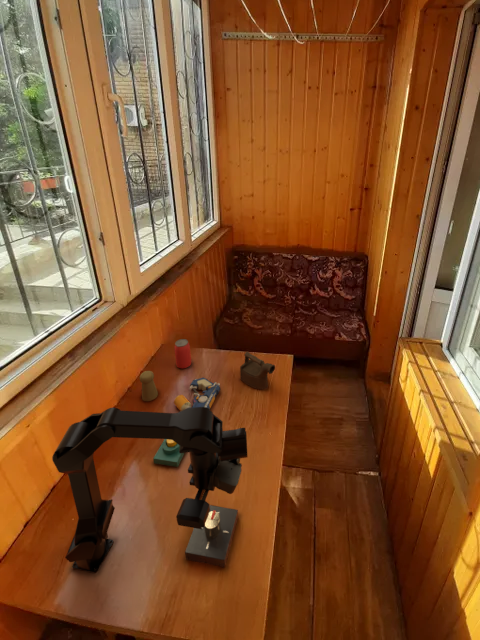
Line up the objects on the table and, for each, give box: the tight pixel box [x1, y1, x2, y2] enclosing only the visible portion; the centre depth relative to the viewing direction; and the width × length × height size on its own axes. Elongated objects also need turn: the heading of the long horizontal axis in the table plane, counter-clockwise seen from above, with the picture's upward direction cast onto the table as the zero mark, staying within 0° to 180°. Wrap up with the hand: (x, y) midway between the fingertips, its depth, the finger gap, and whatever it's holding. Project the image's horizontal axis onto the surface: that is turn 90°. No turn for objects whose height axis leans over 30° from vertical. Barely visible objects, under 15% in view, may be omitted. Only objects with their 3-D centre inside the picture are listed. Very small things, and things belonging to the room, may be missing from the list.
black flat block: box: [184, 504, 239, 568], centre depth 80 cm, size 11×10×3 cm
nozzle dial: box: [204, 510, 221, 539], centre depth 79 cm, size 4×4×4 cm
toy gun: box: [173, 376, 221, 412], centre depth 122 cm, size 21×4×15 cm
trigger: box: [167, 439, 177, 447], centre depth 102 cm, size 3×3×2 cm
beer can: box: [174, 338, 192, 369], centre depth 141 cm, size 7×7×12 cm
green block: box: [153, 439, 185, 468], centre depth 102 cm, size 10×8×4 cm
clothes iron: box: [239, 351, 276, 390], centre depth 131 cm, size 8×16×13 cm, turn 48°
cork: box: [139, 370, 159, 402], centre depth 124 cm, size 6×6×11 cm
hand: (208, 503), depth 77 cm, fingers open, 9 cm apart
